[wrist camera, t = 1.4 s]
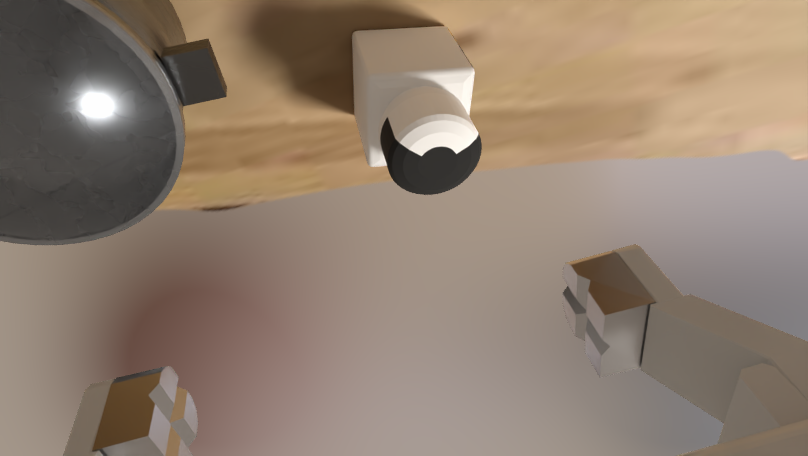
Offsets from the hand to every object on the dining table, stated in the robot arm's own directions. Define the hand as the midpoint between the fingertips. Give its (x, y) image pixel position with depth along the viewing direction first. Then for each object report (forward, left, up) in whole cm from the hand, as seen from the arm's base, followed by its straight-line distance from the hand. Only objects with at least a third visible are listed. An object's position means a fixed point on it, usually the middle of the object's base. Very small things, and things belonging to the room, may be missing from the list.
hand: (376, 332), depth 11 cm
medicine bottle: (+12, +5, -32) cm, 35 cm away
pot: (+5, -17, -32) cm, 36 cm away
